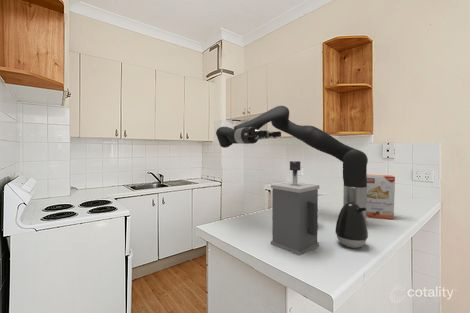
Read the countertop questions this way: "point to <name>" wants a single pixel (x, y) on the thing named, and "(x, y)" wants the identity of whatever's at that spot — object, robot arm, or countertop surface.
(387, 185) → the cracker box
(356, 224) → the black egg-shaped dispenser
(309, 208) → the press
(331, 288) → the countertop surface
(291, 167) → the plunger
